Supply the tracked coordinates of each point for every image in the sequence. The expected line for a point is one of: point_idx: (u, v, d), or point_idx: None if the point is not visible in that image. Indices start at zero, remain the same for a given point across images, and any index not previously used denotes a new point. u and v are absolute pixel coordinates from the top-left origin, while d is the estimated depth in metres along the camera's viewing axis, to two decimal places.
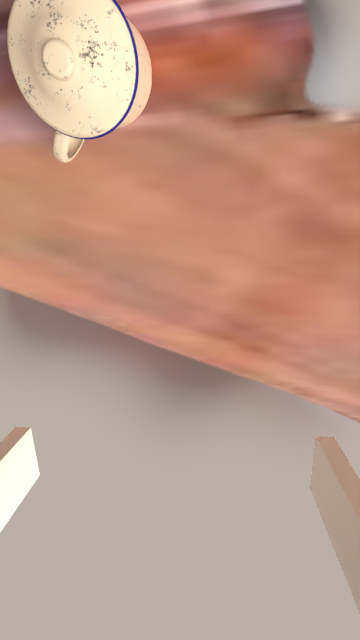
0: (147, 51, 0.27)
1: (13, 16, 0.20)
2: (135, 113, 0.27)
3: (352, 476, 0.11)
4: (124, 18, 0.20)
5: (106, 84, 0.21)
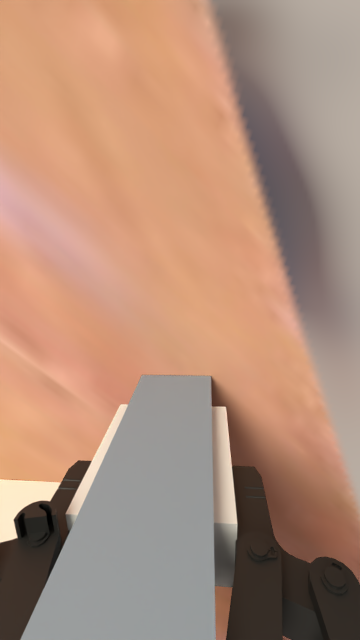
0: None
1: None
2: None
3: (224, 434, 0.14)
4: None
5: None
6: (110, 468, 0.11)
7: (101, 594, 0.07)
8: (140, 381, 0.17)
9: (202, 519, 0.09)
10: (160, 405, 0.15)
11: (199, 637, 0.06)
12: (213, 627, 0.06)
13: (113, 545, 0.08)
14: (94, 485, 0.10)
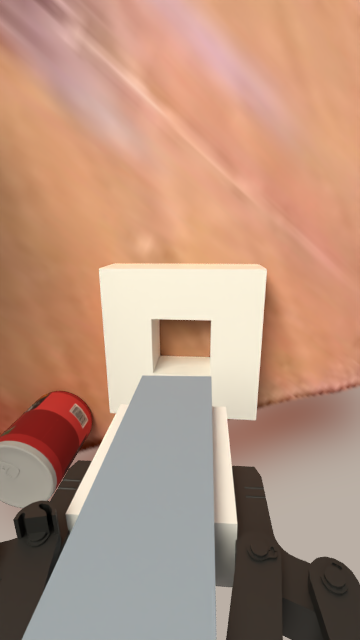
0: None
1: None
2: None
3: (224, 434, 0.14)
4: None
5: None
6: (110, 469, 0.11)
7: (102, 595, 0.07)
8: (140, 381, 0.17)
9: (202, 519, 0.09)
10: (160, 406, 0.15)
11: (200, 638, 0.06)
12: (214, 628, 0.06)
13: (114, 546, 0.08)
14: (94, 486, 0.10)
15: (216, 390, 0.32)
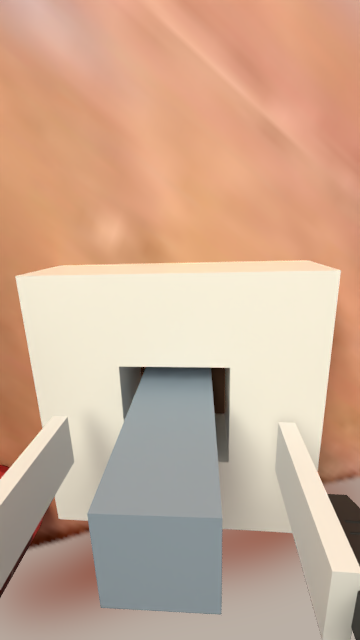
0: None
1: None
2: None
3: (305, 456, 0.12)
4: None
5: None
6: (138, 407, 0.15)
7: (144, 468, 0.11)
8: None
9: (208, 432, 0.13)
10: (170, 370, 0.18)
11: (209, 484, 0.10)
12: (218, 479, 0.10)
13: (148, 446, 0.12)
14: (128, 417, 0.14)
15: (240, 486, 0.18)
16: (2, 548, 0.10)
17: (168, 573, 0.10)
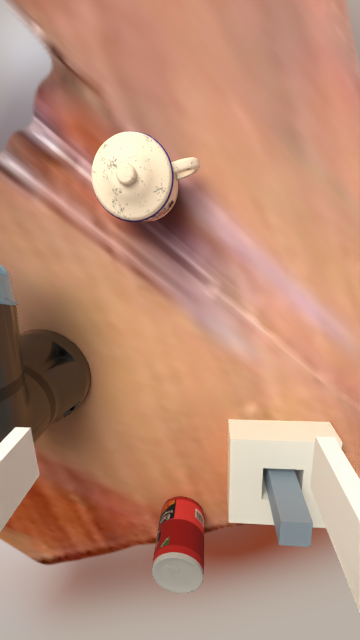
0: None
1: (136, 215, 0.34)
2: None
3: (352, 476, 0.11)
4: None
5: (119, 148, 0.32)
6: (274, 485, 0.45)
7: (288, 509, 0.41)
8: None
9: (301, 497, 0.43)
10: None
11: (307, 514, 0.40)
12: (309, 513, 0.40)
13: (286, 502, 0.42)
14: (273, 490, 0.44)
15: None
16: None
17: (298, 536, 0.40)
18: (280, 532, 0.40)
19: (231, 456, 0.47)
